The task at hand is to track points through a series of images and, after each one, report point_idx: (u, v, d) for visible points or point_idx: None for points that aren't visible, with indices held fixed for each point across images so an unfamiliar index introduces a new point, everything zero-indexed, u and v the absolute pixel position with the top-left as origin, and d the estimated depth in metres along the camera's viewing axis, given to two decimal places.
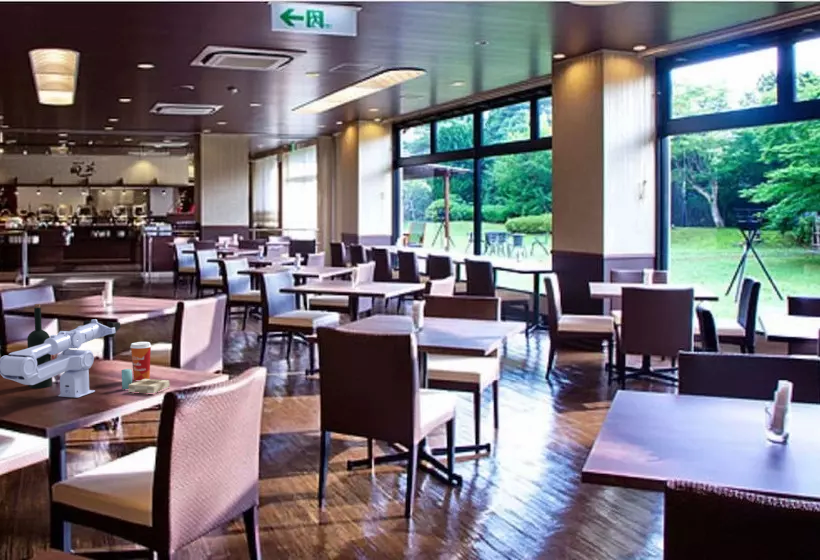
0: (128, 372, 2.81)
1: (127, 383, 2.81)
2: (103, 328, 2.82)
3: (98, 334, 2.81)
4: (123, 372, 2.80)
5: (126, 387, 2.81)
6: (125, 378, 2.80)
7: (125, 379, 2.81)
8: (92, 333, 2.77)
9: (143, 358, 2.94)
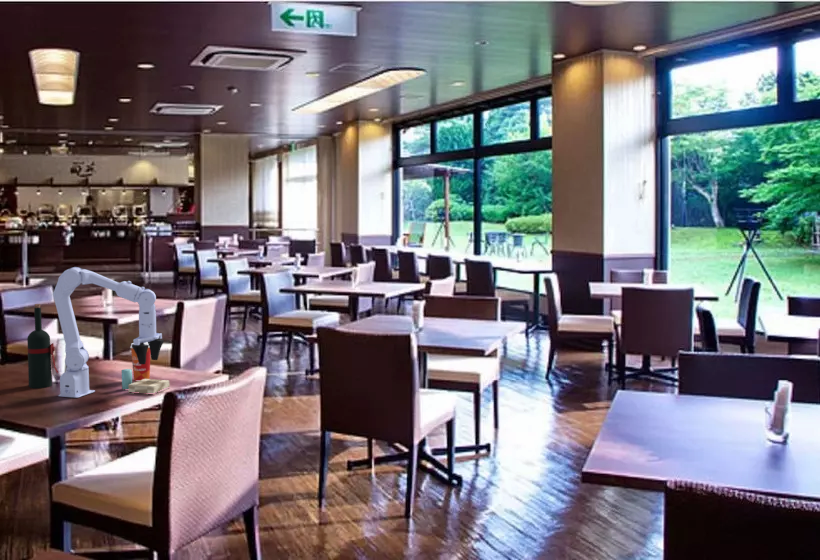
0: (128, 372, 2.81)
1: (127, 383, 2.81)
2: (144, 339, 2.75)
3: (140, 333, 2.76)
4: (123, 372, 2.80)
5: (126, 387, 2.81)
6: (125, 378, 2.80)
7: (125, 379, 2.81)
8: (147, 323, 2.75)
9: None
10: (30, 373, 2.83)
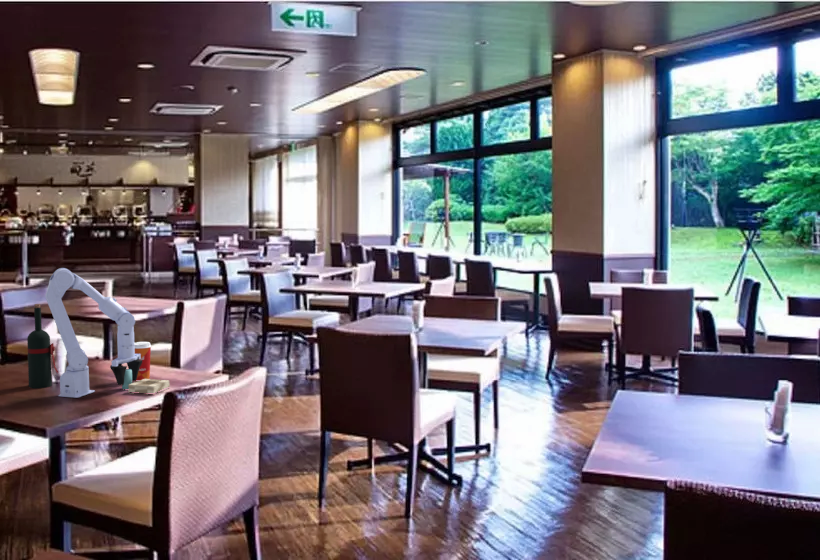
0: (128, 372, 2.81)
1: (127, 383, 2.81)
2: (122, 360, 2.78)
3: (119, 354, 2.79)
4: None
5: (126, 387, 2.81)
6: (125, 378, 2.80)
7: (125, 379, 2.81)
8: (127, 344, 2.79)
9: (143, 358, 2.94)
10: (30, 373, 2.83)
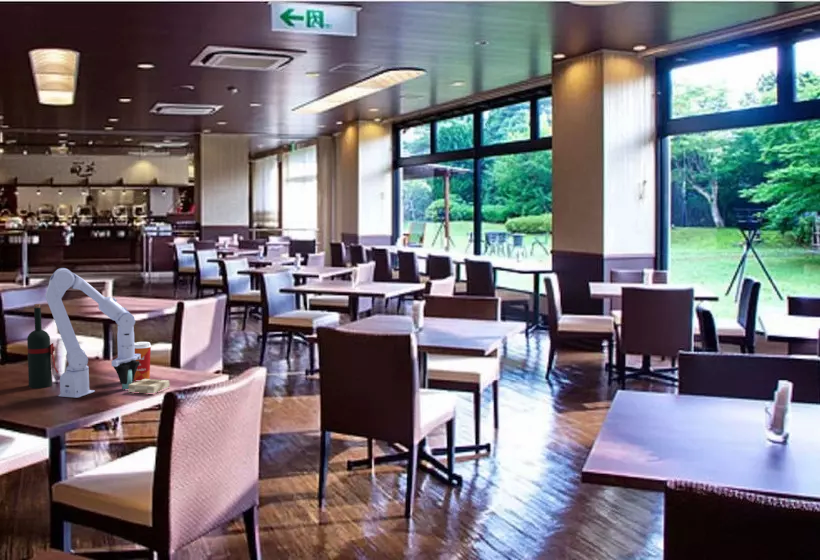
0: (128, 372, 2.81)
1: (127, 383, 2.81)
2: (122, 360, 2.78)
3: (119, 354, 2.79)
4: None
5: (126, 387, 2.81)
6: None
7: None
8: (127, 344, 2.79)
9: (143, 358, 2.94)
10: (30, 373, 2.83)
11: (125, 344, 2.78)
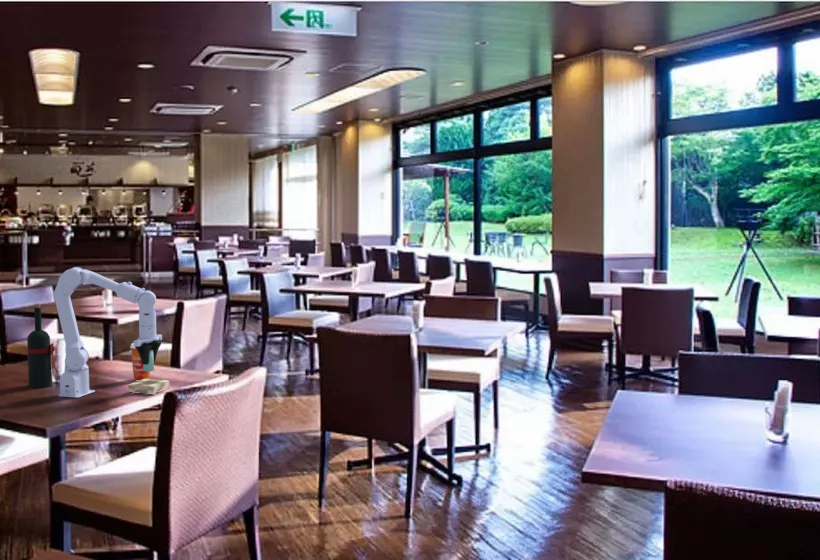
0: (150, 353, 2.78)
1: (149, 364, 2.78)
2: None
3: (141, 334, 2.76)
4: None
5: (148, 368, 2.78)
6: None
7: None
8: (147, 324, 2.75)
9: None
10: (30, 373, 2.83)
11: (145, 324, 2.75)
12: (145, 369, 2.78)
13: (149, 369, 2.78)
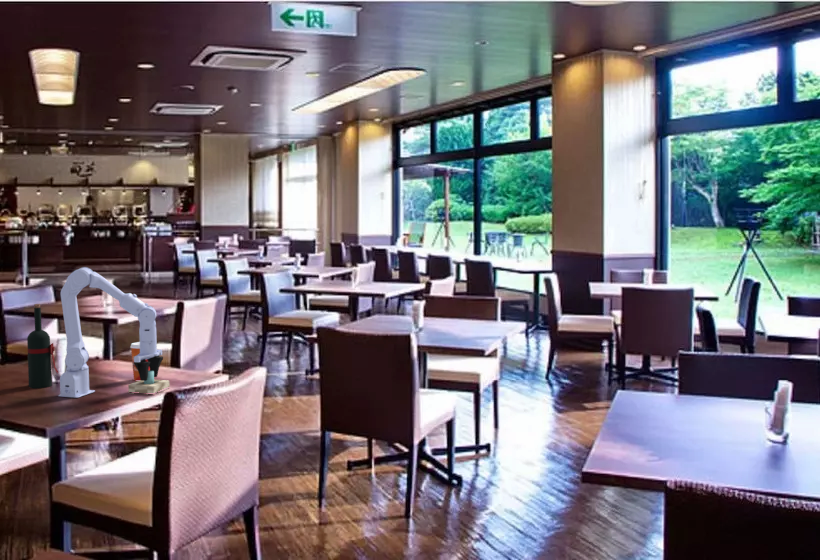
0: (150, 374, 2.78)
1: None
2: None
3: (141, 350, 2.77)
4: None
5: None
6: (147, 379, 2.78)
7: (147, 381, 2.78)
8: (147, 340, 2.76)
9: None
10: (30, 373, 2.83)
11: (145, 340, 2.76)
12: None
13: None
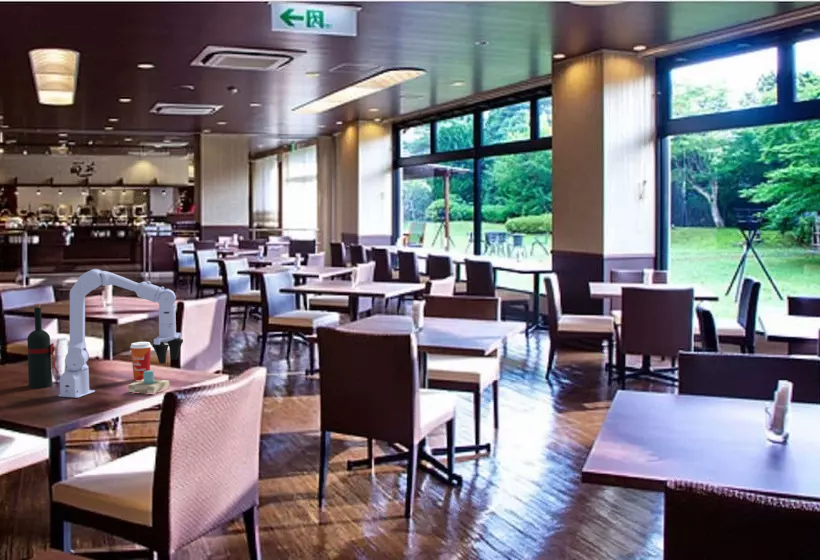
0: (150, 374, 2.78)
1: None
2: None
3: (160, 332, 2.77)
4: (145, 374, 2.78)
5: None
6: (147, 379, 2.78)
7: (147, 381, 2.78)
8: (167, 323, 2.77)
9: (143, 358, 2.94)
10: (30, 373, 2.83)
11: (165, 322, 2.77)
12: None
13: None
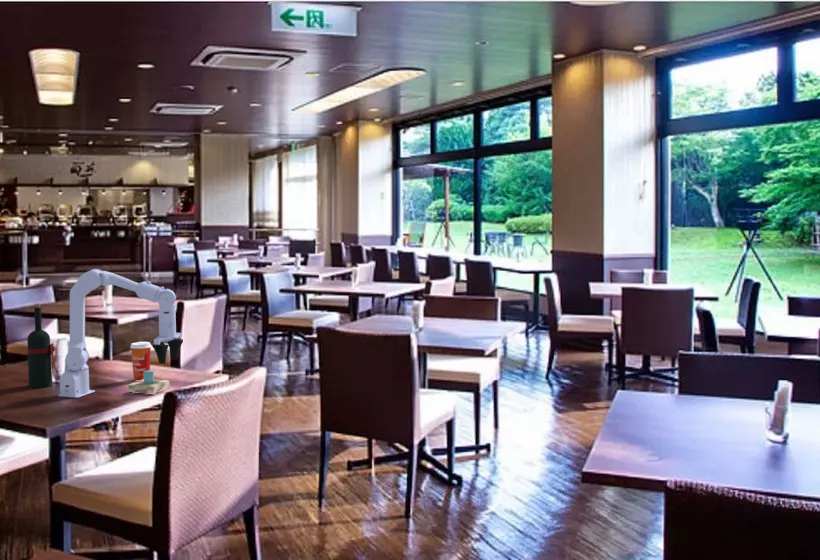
0: (150, 374, 2.78)
1: None
2: None
3: (160, 332, 2.77)
4: (145, 374, 2.78)
5: None
6: (147, 379, 2.78)
7: (147, 381, 2.78)
8: (167, 323, 2.77)
9: (143, 358, 2.94)
10: (30, 373, 2.83)
11: (165, 322, 2.77)
12: None
13: None
